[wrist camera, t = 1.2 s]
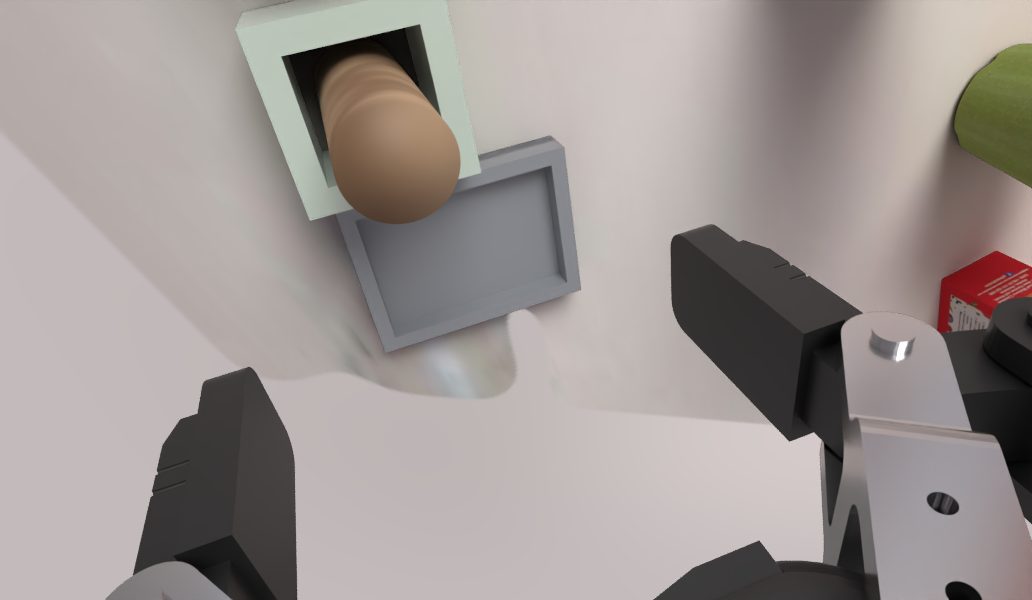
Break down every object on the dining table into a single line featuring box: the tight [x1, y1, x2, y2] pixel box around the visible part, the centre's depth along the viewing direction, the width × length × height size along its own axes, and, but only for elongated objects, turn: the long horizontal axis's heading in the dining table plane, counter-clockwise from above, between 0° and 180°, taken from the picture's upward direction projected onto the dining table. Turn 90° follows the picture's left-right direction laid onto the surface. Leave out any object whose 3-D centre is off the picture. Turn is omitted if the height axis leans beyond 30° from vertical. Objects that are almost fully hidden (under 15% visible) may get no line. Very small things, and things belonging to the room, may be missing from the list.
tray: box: [335, 136, 581, 353], centre depth 34 cm, size 12×9×2 cm
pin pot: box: [235, 0, 481, 221], centre depth 27 cm, size 8×8×5 cm
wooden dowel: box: [315, 38, 461, 224], centre depth 24 cm, size 4×4×12 cm
